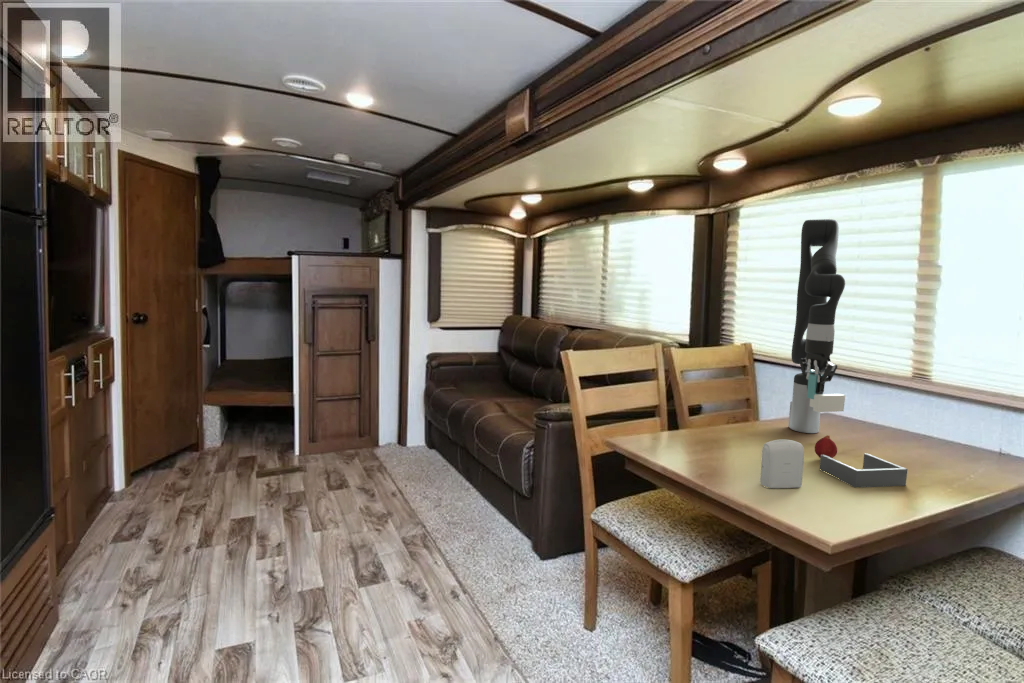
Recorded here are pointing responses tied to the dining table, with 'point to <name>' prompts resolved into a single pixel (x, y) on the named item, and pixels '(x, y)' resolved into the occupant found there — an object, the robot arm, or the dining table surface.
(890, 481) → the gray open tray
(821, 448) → the onion
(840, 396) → the teal-handled white slab
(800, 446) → the photo printer
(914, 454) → the dining table surface
